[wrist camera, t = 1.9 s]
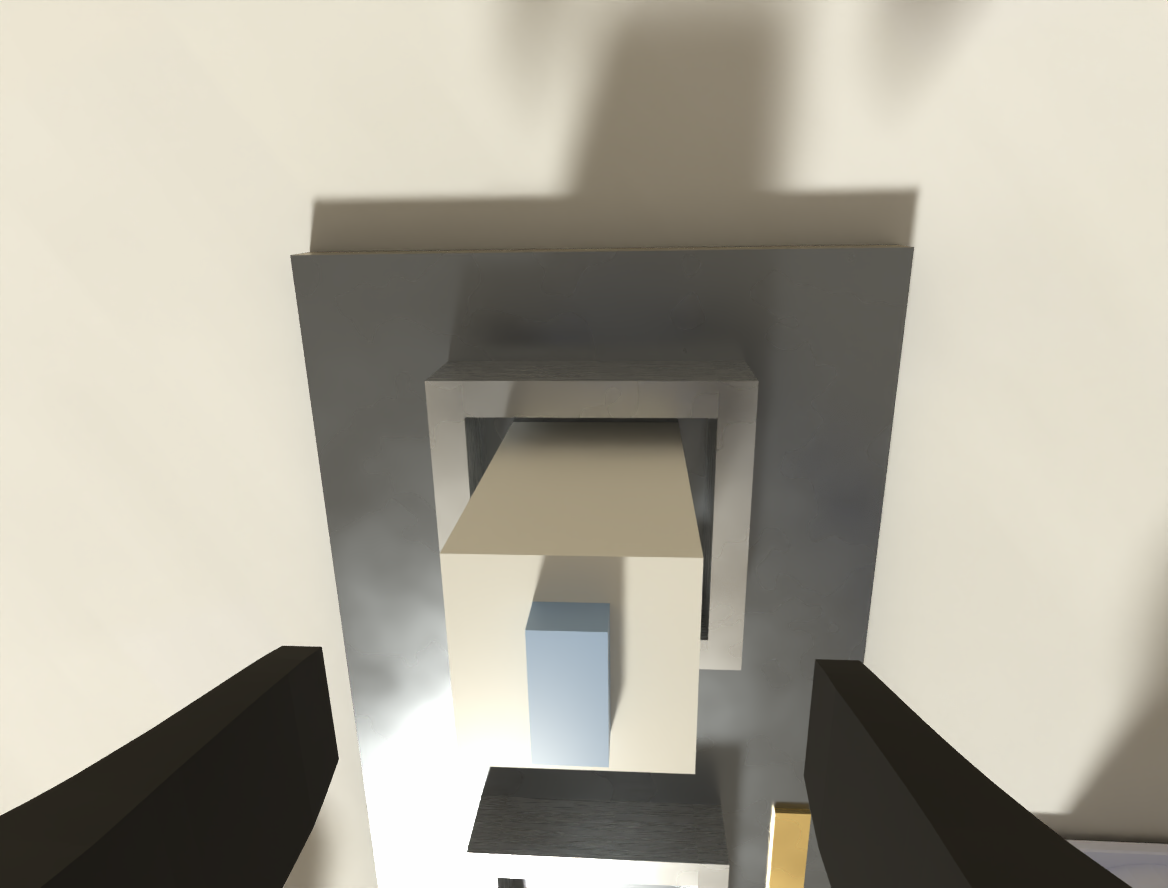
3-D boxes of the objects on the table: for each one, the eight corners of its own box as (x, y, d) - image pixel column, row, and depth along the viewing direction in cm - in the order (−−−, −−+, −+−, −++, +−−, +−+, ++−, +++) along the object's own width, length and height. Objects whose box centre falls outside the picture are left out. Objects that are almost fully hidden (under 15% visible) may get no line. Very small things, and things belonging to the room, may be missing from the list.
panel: (898, 244, 17) (951, 253, 14) (807, 1029, 25) (829, 1135, 22) (308, 252, 18) (246, 262, 15) (407, 1004, 26) (379, 1103, 23)
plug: (678, 422, 18) (708, 584, 10) (674, 571, 19) (698, 812, 11) (512, 421, 18) (425, 579, 10) (519, 568, 19) (446, 801, 12)
